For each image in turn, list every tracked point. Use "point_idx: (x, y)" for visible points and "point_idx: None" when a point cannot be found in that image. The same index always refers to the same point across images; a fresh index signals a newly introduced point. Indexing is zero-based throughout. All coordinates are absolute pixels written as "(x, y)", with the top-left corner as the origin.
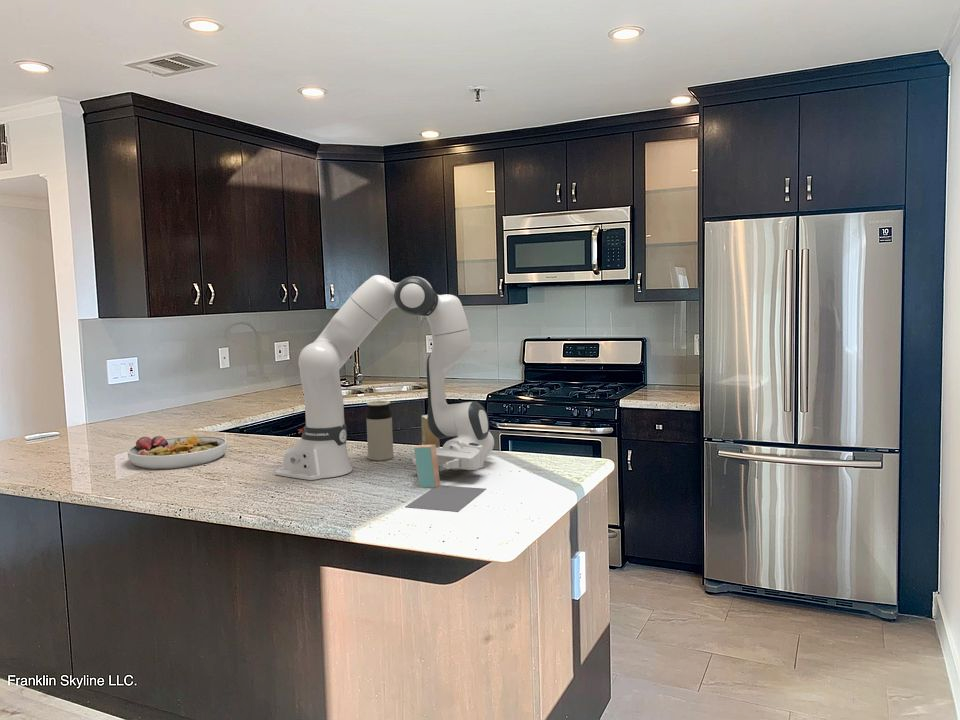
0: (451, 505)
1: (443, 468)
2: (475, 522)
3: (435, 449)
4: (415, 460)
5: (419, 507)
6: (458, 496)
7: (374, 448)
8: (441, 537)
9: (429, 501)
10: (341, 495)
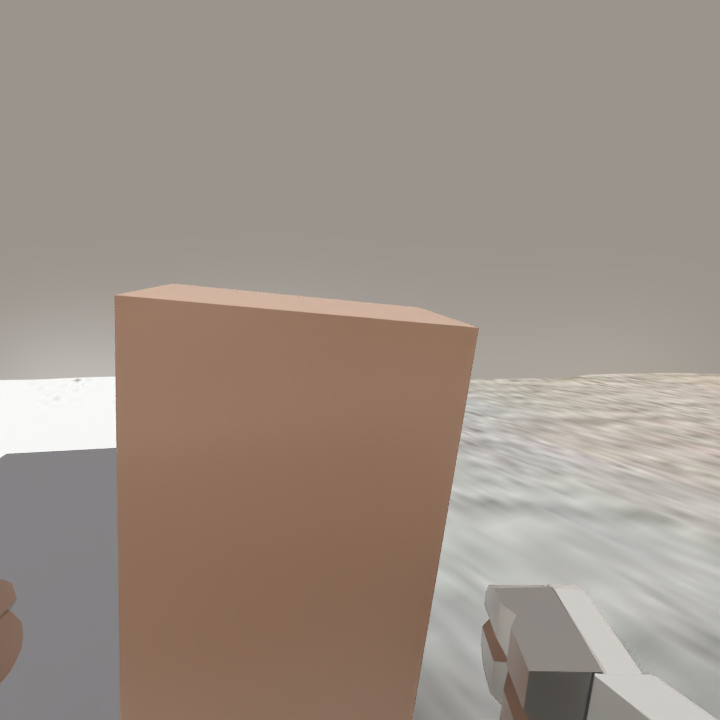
0: (29, 484)
1: (15, 650)
2: None
3: (124, 390)
4: (540, 589)
5: None
6: None
7: None
8: (82, 385)
9: None
10: (601, 469)
